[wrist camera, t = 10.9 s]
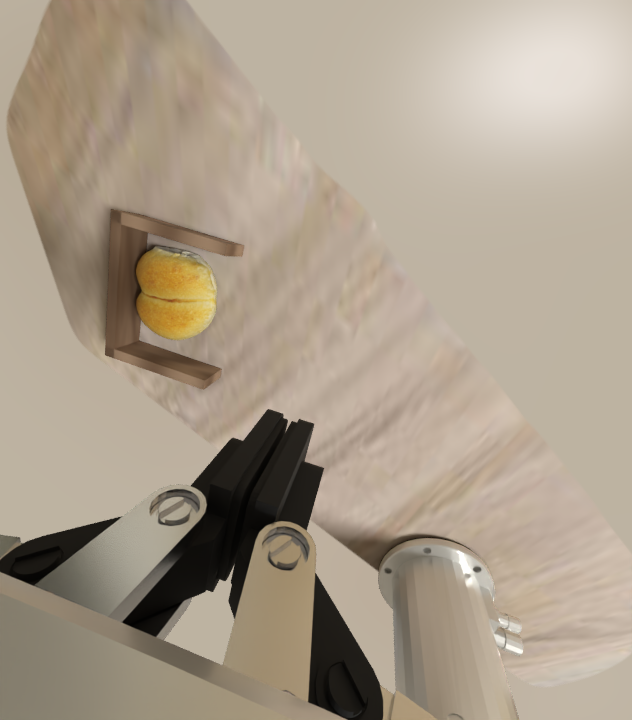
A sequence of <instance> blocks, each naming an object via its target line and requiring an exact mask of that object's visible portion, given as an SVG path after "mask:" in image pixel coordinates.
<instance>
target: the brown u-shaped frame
mask: <svg viewBox="0 0 632 720" xmlns="http://www.w3.org/2000/svg"><path fill="white" fill-rule="evenodd" d="M148 233H151V234H155V235H158V236H161V237H164V238H168V239H171V240H174V241H178V242H181V243H184V244H187V245H191V246H194V247H197V248H201V249H204V250H207V251H210V252H214V253H217V254H220V255H224V256H242V255H243V249H244V245H240V244H237V243H234V242H230V241H227V240H224V239H220V238H217V237H214V236H210V235H207V234H204V233H200V232H197V231H194V230H190V229H187V228H184V227H180V226H177V225H174V224H170V223H167V222H164V221H160V220H157V219H154V218H150V217H147V216H144V215H140V214H135V213H130V212H124V211H119V210H113V209H111V226H110V250H109V274H108V298H107V322H106V346H105V355H106V356H109V357H112V358H115V359H118V360H120V361H123V362H126V363H129V364H132V365H135V366H138V367H140V368H143V369H146V370H149V371H152V372H155V373H158V374H160V375H163V376H166V377H169V378H172V379H175V380H178V381H180V382H183V383H186V384H189V385H192V386H195V387H198V388H200V389H203V390H204V389H205V388H206V387H208V386H209V385H210V384H212V383H213V382H214V381H216V380H217V379H219V378H220V376H221V370H222V369H220V368H217V367H214V366H211V365H208V364H205V363H202V362H200V361H197V360H194V359H191V358H188V357H185V356H182V355H179V354H176V353H173V352H170V351H167V350H164V349H161V348H159V347H156V346H153V345H150V344H147V343H144V342H141V341H139V334H140V322H141V318H140V316H139V314H138V311H137V307H136V301H137V298H138V296H139V294H140V293H141V291H142V290H141V287H140V285H139V283H138V279H137V276H136V268H137V264H138V262H139V260H140V258H141V257H142V256H143V255H144V254H145V253H146V247H147V234H148Z"/></svg>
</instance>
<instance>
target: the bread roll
mask: <svg viewBox="0 0 632 720" xmlns="http://www.w3.org/2000/svg"><path fill="white" fill-rule="evenodd" d="M136 276H137V279H138V283H139V285H140V287H141V290H142V291H141V293H140V294H139V296H138V298H137V301H136V307H137V311H138V314H139V316H140V318H141V320H142V321H143V323H144V324H145V325H146V326H147V327H148V328H149V329H151V330H152V331H153V332H155V333H156V334H158V335H160V336H162V337H164V338H167V339H171V340H184V339H188V338H191V337H194V336H196V335H197V334H200V333H201V332H202V331H204V330H205V329H206V328H207V327H208V326H209V325H210V323H211V322H212V320H213V318H214V316H215V313H216V308H217V304H216V296H217V285H216V280H215V276H214V274H213V272H212V269H211V267H210V266H209V265H208V264H207V262H205V261H204V260H203V259H202V258H201V257H200V256H199V255H197V254H194V253H191V252H188V251H185V250H179V249H175V248H168V247H160V246H155V247H154V248H153V249H152V250H150V251H148V252H146V253H145V254H144V255H143V256H142V257H141V258H140V260H139V262H138V264H137V268H136Z"/></svg>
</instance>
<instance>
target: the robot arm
mask: <svg viewBox="0 0 632 720" xmlns="http://www.w3.org/2000/svg"><path fill="white" fill-rule="evenodd" d="M287 423H288V420H287V419H284V418H283V414H282V413H279V412H276V411H273V410H269V409H268V410H267V411H266V412H265V414H264V415H263V416H262V417H261V419H260V420H259V421H258V423H257V424H256V425H255V426H254V428H253V429H252V430H251V432H250V433H249V434H248V435H247V437H246V438H245V439H244V441H241V440H238V439H236V438H232V439H231V440H229V442H228V443H227V444H226V445H225V446H224V447H223V449H222V450H221V451H220V452H219V453H218V454H217V456H216V457H215V458H214V459H213V460H212V462H211V463H210V464H209V465H208V466H207V467H206V469H205V470H204V471H203V472H202V473H201V475H200V476H199V477H198V478H197V479H196V480H195V481H194V483H193V484H192V485H191V486H188V485H170V486H167V487H164V488H161V489H159V490H157V491H156V492H154V493H152V494H151V495H150V496H149V497H147V498H146V499H144V500H143V501H142V502H141V503H140V504H138V505H137V506H136V507H134V508H133V509H132V510H130V511H129V512H128V513H127V514H125V515H124V516H122V517H118V518H114V519H110V520H106V521H102V522H98V523H94V524H90V525H86V526H82V527H78V528H74V529H70V530H66V531H62V532H58V533H54V534H50V535H46V536H42V537H39V538H36V539H33V540H30V541H27V542H25V543H21V541H20V537H13V536H4V535H0V720H519V717H518V713H517V710H516V706H515V703H514V700H513V696H512V693H511V690H510V686H509V683H508V680H507V677H506V673H505V670H504V666H503V663H502V660H501V656H500V653H499V649H498V647H499V648H500V649H501V650H504V651H506V652H509V653H511V654H514V655H516V656H520V655H522V652H523V643H522V639H521V637H520V635H518V634H519V633H520V632H521V622H520V620H519V619H518V618H516V617H513V616H511V615H508V614H503V613H501V612H499V611H498V609H497V608H496V607H495V605H494V599H495V585H494V581H493V579H492V576H491V573H490V571H489V569H488V567H487V566H486V564H485V563H484V562H483V561H482V560H481V558H480V557H478V556H477V555H476V554H475V553H473V552H472V551H471V550H469V549H467V548H465V547H464V546H462V545H459V544H456V543H454V542H451V541H447V540H442V539H434V538H422V539H414V540H410V541H406V542H404V543H402V544H399V545H397V546H396V547H394V548H393V549H391V550H390V551H389V552H388V553H387V554H386V555H385V556H384V558H383V560H382V562H381V564H380V567H379V578H378V579H379V580H378V581H379V588H380V591H381V594H382V596H383V598H384V599H385V600H386V602H387V604H388V605H389V606H390V607H391V608H392V609H393V626H394V655H395V681H396V682H395V685H396V691H395V693H394V695H393V694H392V693H390V692H389V691H388V690H386V689H385V688H383V687H382V686H381V685H380V684H379V681H378V679H377V677H376V675H375V673H374V670H373V668H372V667H371V665H370V664H369V662H368V660H367V658H366V657H365V655H364V653H363V652H362V650H361V648H360V647H359V645H358V643H357V642H356V640H355V638H354V637H353V635H352V633H351V632H350V630H349V628H348V626H347V625H346V623H345V621H344V620H343V618H342V617H341V615H340V613H339V611H338V610H337V608H336V606H335V605H334V603H333V601H332V600H331V598H330V596H329V595H328V593H327V591H326V590H325V588H324V586H323V585H322V583H321V581H320V579H319V578H318V576H317V574H316V573H315V566H316V547H315V544H314V541H313V539H312V537H311V536H310V535H309V533H308V532H307V531H306V530H307V527H308V523H309V520H310V516H311V513H312V509H313V506H314V502H315V498H316V495H317V491H318V488H319V484H320V481H321V477H322V474H323V470H324V468H322V467H319V466H316V465H313V464H310V463H307V462H304V461H305V457H306V453H307V450H308V446H309V442H310V439H311V435H312V431H313V428H314V424H313V423H310V422H307V421H304V420H301V419H299V420H298V422H297V423H296V422H293V421H292V422H291V424H290V426H289V427H288V429H287V431H286V427H287ZM285 431H286V433H285ZM234 564H235V565H234ZM233 566H234V570H233V575H232V579H231V584H232V587H231V592H230V596H229V604H230V607H231V610H232V613H233V615H234V619H235V620H234V625H233V628H232V632H231V636H230V639H229V643H228V647H227V651H226V654H225V658H224V662H223V665H220V664H218V663H215V662H213V661H211V660H209V659H206V658H204V657H201V656H199V655H196V654H194V653H192V652H190V651H187V650H185V649H183V648H180V647H177V646H175V645H173V644H170V643H168V642H166V641H164V639H165V638H166V636H167V635H168V634H169V632H170V631H171V630H172V628H173V627H174V626H175V624H176V623H177V622H178V620H179V619H180V618H181V616H182V615H183V613H184V612H185V611H186V609H187V607H188V606H189V604H190V602H191V599H192V597H194V596H197V595H199V594H201V593H204V592H205V591H206V590H208V591H211V592H213V591H214V589H215V587H216V585H217V583H218V581H219V579H221V580H223V581H226V580H227V578H228V576H229V574H230V572H231V570H232V568H233ZM499 626H501V627H503V628H498V627H499Z"/></svg>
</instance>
